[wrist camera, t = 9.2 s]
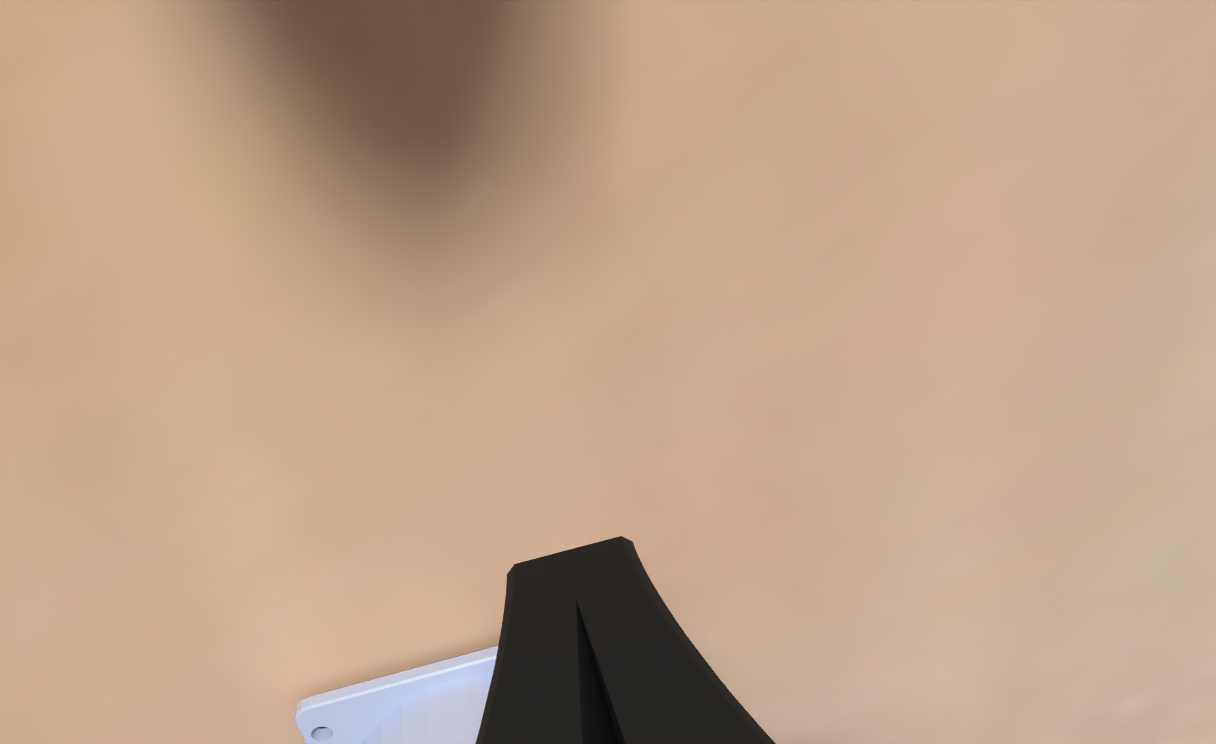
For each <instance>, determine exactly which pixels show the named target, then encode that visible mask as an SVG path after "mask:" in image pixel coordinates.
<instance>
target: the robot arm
mask: <svg viewBox="0 0 1216 744" xmlns="http://www.w3.org/2000/svg"><path fill="white" fill-rule="evenodd" d="M294 721H295V725H296V727H297V729H298V731H299V732H300V734H301V736H302V738H303V740H304V741H305V743H306V744H775V743H774V741H773V740H772V739H771V738H770V737H769V736H768V735H767V734H766V733H765V732H764V730H763V729H762V728H761V727H760V726H759V725H758V724H757V722H756V721H755V720H754V719H753V718H752V717H751V716H750V714H749V713H748V712H747V711H746V710H745V709H744V708H743V706H742V705H741V704H740V703H739V702H738V701H737V700H736V698H735V697H734V696H733V695H732V693H731V692H730V691H729V690H728V689H727V687H726V686H725V685H724V684H723V683H722V681H721V680H720V679H719V678H718V676H717V675H716V674H715V672H714V671H713V670H712V668H711V667H710V666H709V665H708V663H707V662H706V661H705V659H704V658H703V657H702V655H701V654H700V653H699V651H698V650H697V649H696V648H695V646H694V645H693V644H692V642H691V641H690V640H689V638H688V637H687V636H686V634H685V633H684V631H683V630H682V628H681V627H680V626H679V624H678V623H677V621H676V620H675V618H674V617H673V615H672V614H671V612H670V611H669V609H668V608H667V606H666V605H665V603H664V602H663V600H662V598H661V597H660V595H659V594H658V592H657V590H656V589H655V587H654V585H653V584H652V582H651V580H650V578H649V577H648V575H647V573H646V571H645V569H644V567H643V565H642V563H641V561H640V559H639V557H638V555H637V552H636V550H635V547H634V545H633V542H632V541H630V540H628V539H626V538H624V537H622V536H620V537H616V538H612V539H608V540H605V541H601V542H597V543H593V544H589V545H586V546H582V547H578V548H574V549H570V550H567V551H563V552H559V553H555V554H552V555H548V556H544V557H540V558H536V559H533V560H529V561H525V562H521V563H517V564H514V566H513V567H512V568H511V570H510V571H509V572H508V574H507V587H506V599H505V608H504V615H503V622H502V629H501V635H500V640H499V645H498V646H495V647H491V648H488V649H484V650H480V651H477V652H473V653H469V654H465V655H462V656H458V657H454V658H451V659H447V660H443V661H440V662H436V663H432V664H428V665H425V666H421V667H417V668H414V669H410V670H406V671H403V672H399V673H395V674H391V675H388V676H384V677H380V678H377V679H373V680H369V681H366V682H362V683H358V684H355V685H351V686H347V687H343V688H340V689H336V690H332V691H329V692H325V693H321V694H318V695H314V696H310V697H308V698H305V699H303V700H301V701H300V702H299V703H298V704H297V706H296V709H295V717H294ZM317 727H327V728H322V729H320V728H317Z"/></svg>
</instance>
